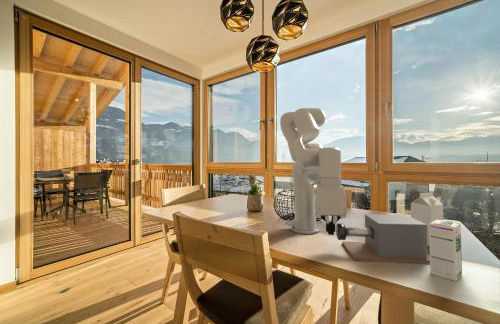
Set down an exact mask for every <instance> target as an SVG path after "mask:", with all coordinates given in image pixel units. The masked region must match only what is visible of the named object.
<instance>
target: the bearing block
mask: <svg viewBox="0 0 500 324" xmlns="http://www.w3.org/2000/svg"><path fill="white" fill-rule="evenodd" d="M364 228H373V229H374V237H364V241H346V240H341V245H342V246H343V247H344V249H345V250H346V252H347V253H348V255H349V256H350V257H351V258H352V260H353V261H355V262H356V261H358V262H376V263H378V262H380V263H385V262H386V263H401V264H402V263H406V264H407V263H408V264H425V265H426V264H429V265H430V257H429V256H428V246H427V224H425V223H422V222H420V221H418V220H416V219H414V218H411V216H409V215H407V214H381V213H380V214H379V213H378V214H377V213H376V214H375V213H374V214H371V213H370V214H369V213H368V214H366V213H365V214H364Z"/></svg>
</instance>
